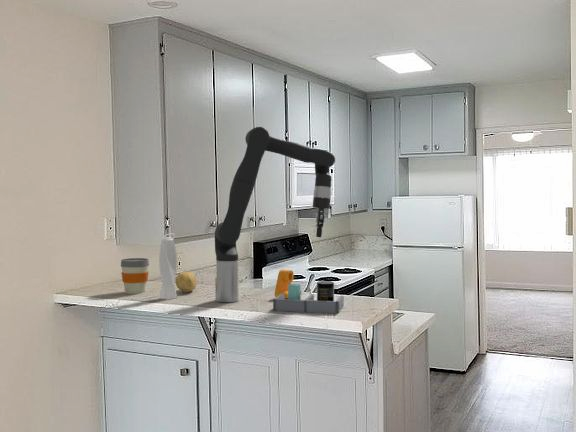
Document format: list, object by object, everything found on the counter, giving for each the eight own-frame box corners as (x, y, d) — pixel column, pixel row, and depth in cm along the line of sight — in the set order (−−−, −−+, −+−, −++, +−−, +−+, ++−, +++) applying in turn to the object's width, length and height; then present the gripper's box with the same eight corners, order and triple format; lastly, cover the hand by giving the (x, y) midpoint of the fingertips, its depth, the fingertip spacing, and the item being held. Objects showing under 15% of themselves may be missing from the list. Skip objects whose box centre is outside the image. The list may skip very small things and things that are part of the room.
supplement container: (335, 310, 242) (335, 283, 241) (317, 310, 242) (317, 283, 241) (332, 306, 249) (332, 281, 248) (316, 307, 248) (316, 281, 248)
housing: (281, 303, 255) (281, 282, 255) (343, 306, 249) (343, 284, 249) (273, 310, 241) (273, 287, 241) (338, 313, 236) (338, 289, 235)
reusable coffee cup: (153, 292, 283) (153, 260, 282) (126, 295, 276) (126, 261, 275) (143, 289, 293) (142, 257, 292) (117, 291, 286) (116, 259, 285)
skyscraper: (169, 295, 274) (168, 232, 273) (181, 297, 270) (180, 233, 269) (155, 298, 268) (155, 233, 267) (168, 300, 264) (167, 234, 262)
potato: (169, 293, 281) (169, 272, 280) (186, 288, 294) (186, 268, 293) (188, 295, 277) (188, 273, 276) (205, 290, 290) (204, 269, 290)
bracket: (288, 300, 264) (288, 272, 263) (274, 298, 268) (274, 270, 267) (302, 296, 273) (302, 269, 272) (288, 295, 277) (288, 268, 276)
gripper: (312, 198, 277) (309, 237, 276) (314, 195, 264) (311, 235, 262) (329, 199, 277) (326, 238, 276) (332, 196, 264) (328, 237, 263)
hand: (318, 237), depth 269 cm, fingers closed
